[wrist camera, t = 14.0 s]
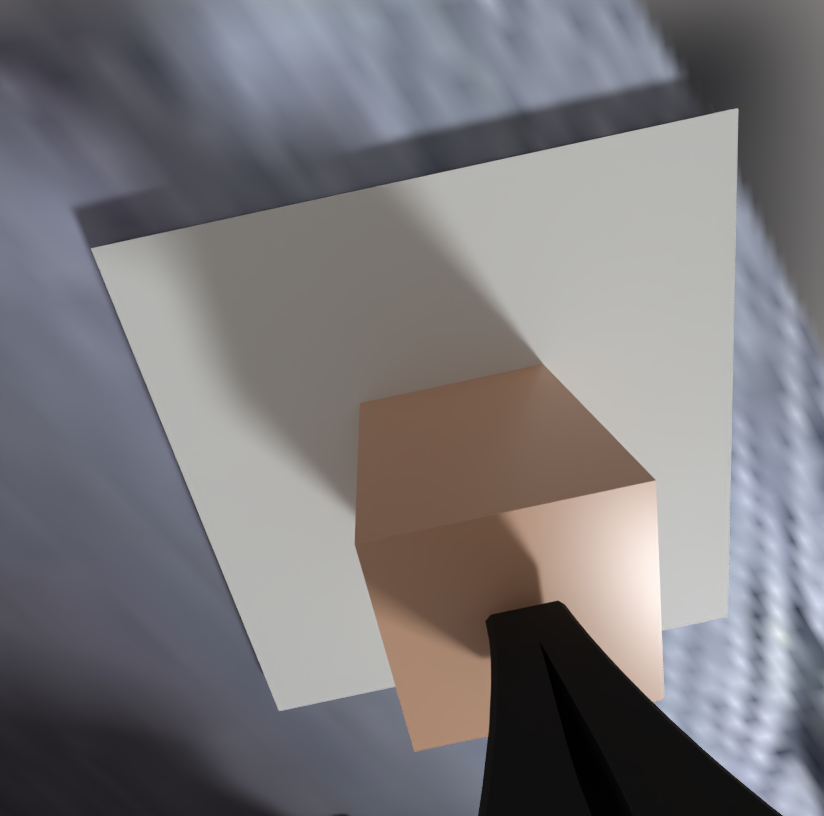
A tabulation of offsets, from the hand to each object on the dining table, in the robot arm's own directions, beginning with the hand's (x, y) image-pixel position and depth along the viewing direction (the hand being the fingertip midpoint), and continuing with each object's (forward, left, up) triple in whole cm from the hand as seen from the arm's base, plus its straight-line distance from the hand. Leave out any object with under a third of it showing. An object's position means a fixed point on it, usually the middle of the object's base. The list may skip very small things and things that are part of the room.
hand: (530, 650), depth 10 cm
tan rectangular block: (0, 0, -7) cm, 7 cm away
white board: (0, 0, -8) cm, 8 cm away
